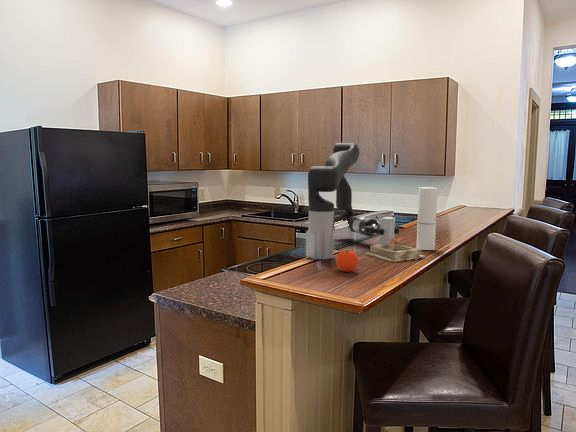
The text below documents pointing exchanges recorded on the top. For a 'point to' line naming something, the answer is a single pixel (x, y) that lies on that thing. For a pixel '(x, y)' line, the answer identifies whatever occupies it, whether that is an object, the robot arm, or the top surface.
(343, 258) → the clementine
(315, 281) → the top surface
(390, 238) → the skincare box
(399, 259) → the tray
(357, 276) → the top surface
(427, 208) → the cylindrical container
